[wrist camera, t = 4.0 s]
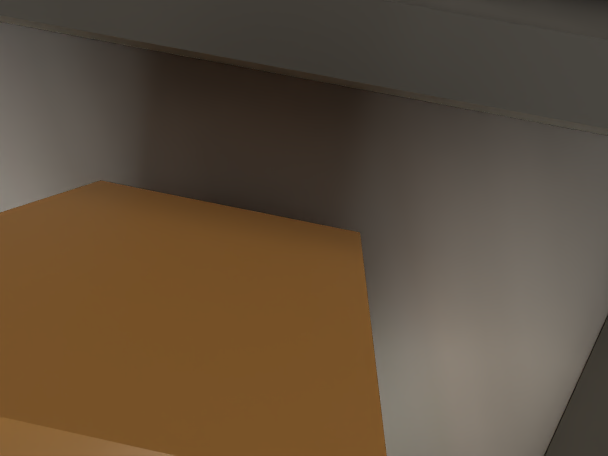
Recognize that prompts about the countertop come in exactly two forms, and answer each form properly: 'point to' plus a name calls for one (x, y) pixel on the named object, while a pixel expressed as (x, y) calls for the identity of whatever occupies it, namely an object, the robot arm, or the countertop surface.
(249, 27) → the case
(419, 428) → the countertop surface
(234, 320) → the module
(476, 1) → the case lid
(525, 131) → the countertop surface
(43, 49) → the countertop surface
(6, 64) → the countertop surface
